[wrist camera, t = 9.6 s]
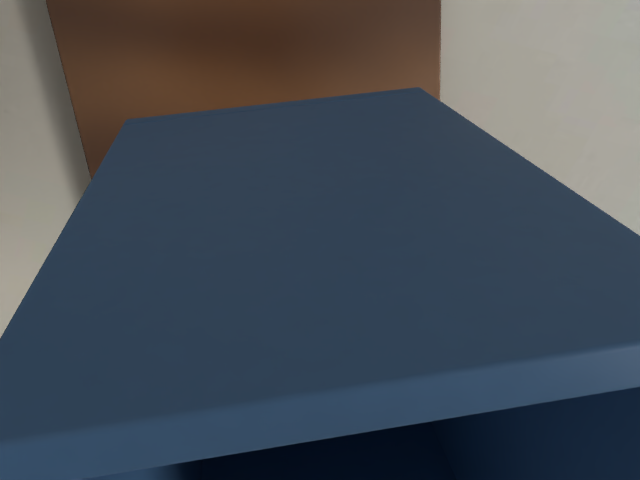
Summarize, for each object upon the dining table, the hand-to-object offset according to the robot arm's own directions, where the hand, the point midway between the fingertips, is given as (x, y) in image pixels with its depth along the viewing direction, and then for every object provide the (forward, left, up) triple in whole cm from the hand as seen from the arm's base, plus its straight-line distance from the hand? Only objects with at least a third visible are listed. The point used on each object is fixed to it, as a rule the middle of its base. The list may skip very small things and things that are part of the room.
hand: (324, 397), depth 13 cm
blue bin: (0, 0, -6) cm, 6 cm away
